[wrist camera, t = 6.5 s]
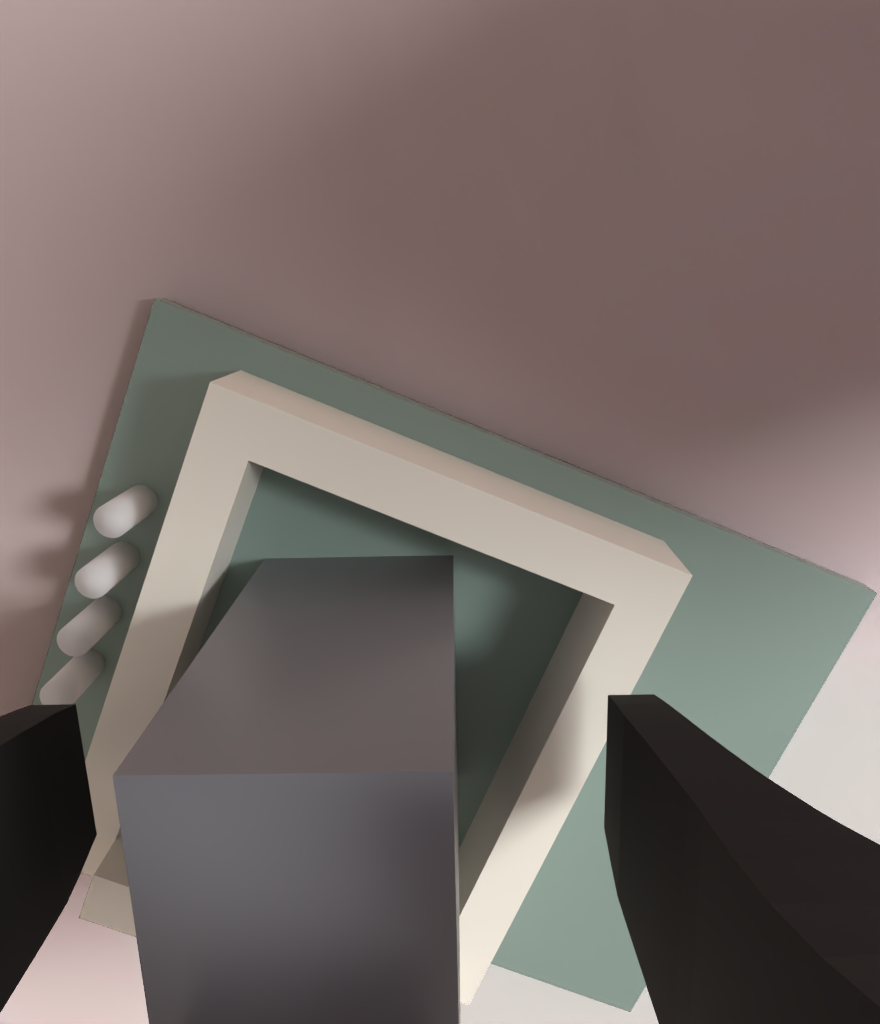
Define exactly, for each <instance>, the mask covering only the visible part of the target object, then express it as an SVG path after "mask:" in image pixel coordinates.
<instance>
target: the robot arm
mask: <svg viewBox="0 0 880 1024" xmlns="http://www.w3.org/2000/svg"><path fill="white" fill-rule="evenodd" d="M604 830H605V835H606V841H607V846H608V851H609V857H610V862H611V867H612V872H613V877H614V882H615V887H616V891H617V896H618V900H619V903H620V906H621V909H622V912H623V916H624V919H625V922H626V925H627V928H628V931H629V934H630V937H631V940H632V943H633V946H634V949H635V953H636V956H637V959H638V962H639V965H640V968H641V971H642V974H643V977H644V980H645V983H646V986H647V989H648V992H649V995H650V998H651V1001H652V1004H653V1007H654V1010H655V1013H656V1016H657V1019H658V1022H659V1024H880V845H879V844H877V843H875V842H873V841H872V840H870V839H868V838H866V837H864V836H862V835H860V834H859V833H857V832H855V831H853V830H851V829H849V828H847V827H846V826H844V825H842V824H840V823H838V822H837V821H835V820H833V819H832V818H830V817H828V816H826V815H825V814H823V813H821V812H820V811H818V810H816V809H815V808H813V807H812V806H810V805H809V804H807V803H805V802H804V801H802V800H801V799H799V798H798V797H796V796H794V795H793V794H791V793H790V792H788V791H787V790H785V789H784V788H782V787H780V786H779V785H777V784H776V783H774V782H773V781H771V780H770V779H768V778H767V777H766V776H764V775H763V774H761V773H760V772H758V771H757V770H755V769H754V768H753V767H751V766H750V765H748V764H747V763H746V762H744V761H743V760H741V759H740V758H739V757H737V756H736V755H735V754H733V753H732V752H730V751H729V750H728V749H726V748H725V747H724V746H722V745H721V744H720V743H718V742H717V741H716V740H714V739H713V738H712V737H710V736H709V735H708V734H706V733H705V732H704V731H703V730H701V729H700V728H699V727H697V726H696V725H695V724H693V723H692V722H691V721H690V720H688V719H687V718H686V717H684V716H683V715H682V714H681V713H679V712H678V711H677V710H675V709H674V708H673V707H671V706H670V705H669V704H667V703H666V702H665V701H663V700H662V699H660V698H659V697H657V696H656V695H654V694H641V695H608V709H607V744H606V778H605V813H604ZM96 835H97V832H96V826H95V820H94V813H93V807H92V801H91V795H90V789H89V782H88V776H87V770H86V764H85V758H84V751H83V745H82V739H81V733H80V727H79V720H78V714H77V708H76V704H59V705H30V706H27V707H24V708H22V709H19V710H16V711H13V712H11V713H8V714H6V715H3V716H1V717H0V1012H1V1011H2V1009H3V1007H4V1006H5V1004H6V1003H7V1001H8V999H9V998H10V996H11V995H12V993H13V991H14V990H15V988H16V986H17V985H18V983H19V982H20V980H21V978H22V977H23V975H24V974H25V972H26V970H27V969H28V967H29V965H30V964H31V962H32V961H33V959H34V957H35V956H36V954H37V952H38V951H39V949H40V947H41V946H42V944H43V942H44V941H45V939H46V937H47V936H48V934H49V932H50V931H51V929H52V927H53V926H54V924H55V922H56V921H57V919H58V917H59V916H60V914H61V912H62V911H63V909H64V907H65V905H66V904H67V902H68V899H69V897H70V895H71V893H72V891H73V889H74V886H75V884H76V882H77V880H78V878H79V876H80V874H81V871H82V869H83V866H84V864H85V862H86V859H87V857H88V855H89V852H90V850H91V847H92V845H93V843H94V840H95V838H96Z"/></svg>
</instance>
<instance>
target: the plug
mask: <svg viewBox="0 0 880 1024" xmlns="http://www.w3.org/2000/svg"><path fill="white" fill-rule="evenodd" d="M113 782H114V789H115V796H116V803H117V809H118V816H119V823H120V830H121V836H122V843H123V850H124V856H125V863H126V870H127V877H128V883H129V890H130V897H131V904H132V910H133V917H134V924H135V931H136V937H137V944H138V951H139V958H140V964H141V971H142V978H143V985H144V991H145V998H146V1005H147V1012H148V1018H149V1024H460V928H459V807H458V742H457V696H456V649H455V603H454V556H453V555H431V556H376V557H321V558H267V559H264V560H263V562H262V563H261V565H260V566H259V567H258V569H257V570H256V572H255V573H254V575H253V576H252V577H251V579H250V580H249V582H248V583H247V585H246V586H245V587H244V589H243V590H242V592H241V593H240V595H239V596H238V597H237V599H236V600H235V602H234V603H233V605H232V606H231V607H230V609H229V610H228V612H227V613H226V615H225V616H224V617H223V619H222V620H221V622H220V623H219V625H218V626H217V627H216V629H215V630H214V632H213V633H212V634H211V636H210V637H209V639H208V640H207V642H206V643H205V644H204V646H203V647H202V649H201V650H200V652H199V653H198V654H197V656H196V657H195V659H194V660H193V662H192V663H191V664H190V666H189V667H188V669H187V670H186V672H185V673H184V674H183V676H182V677H181V679H180V680H179V682H178V683H177V684H176V686H175V687H174V689H173V690H172V692H171V693H170V694H169V696H168V697H167V699H166V700H165V702H164V703H163V704H162V706H161V707H160V709H159V710H158V712H157V713H156V714H155V716H154V717H153V719H152V720H151V722H150V723H149V724H148V726H147V727H146V729H145V730H144V732H143V733H142V734H141V736H140V737H139V739H138V740H137V741H136V743H135V744H134V746H133V747H132V749H131V750H130V751H129V753H128V754H127V756H126V757H125V759H124V760H123V761H122V763H121V764H120V766H119V767H118V769H117V770H116V771H115V773H114V774H113Z"/></svg>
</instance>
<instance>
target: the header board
mask: <svg viewBox="0 0 880 1024" xmlns="http://www.w3.org/2000/svg"><path fill="white" fill-rule="evenodd" d="M431 555H453V556H454V603H455V649H456V696H457V742H458V807H459V928H460V1003H463V1004H466V1005H469V1004H470V1002H471V1000H472V998H473V996H474V994H475V992H476V990H477V989H478V987H479V985H480V983H481V981H482V979H483V977H484V975H485V973H486V971H487V969H488V967H489V966H490V964H494V965H497V966H499V967H502V968H505V969H508V970H511V971H514V972H517V973H520V974H522V975H525V976H528V977H531V978H534V979H537V980H540V981H543V982H545V983H548V984H551V985H554V986H557V987H560V988H563V989H565V990H568V991H571V992H574V993H577V994H580V995H583V996H586V997H588V998H591V999H594V1000H597V1001H600V1002H603V1003H606V1004H609V1005H611V1006H614V1007H617V1008H620V1009H623V1010H626V1011H629V1012H631V1010H632V1008H633V1007H634V1005H635V1003H636V1001H637V1000H638V998H639V996H640V995H641V993H642V991H643V990H644V988H645V986H646V983H645V980H644V977H643V974H642V971H641V968H640V965H639V962H638V959H637V956H636V953H635V949H634V946H633V943H632V940H631V937H630V934H629V931H628V928H627V925H626V922H625V919H624V916H623V912H622V909H621V906H620V903H619V900H618V896H617V891H616V887H615V882H614V877H613V872H612V867H611V862H610V857H609V851H608V846H607V841H606V835H605V830H604V813H605V778H606V744H607V709H608V695H641V694H654V695H656V696H657V697H659V698H660V699H662V700H663V701H665V702H666V703H667V704H669V705H670V706H671V707H673V708H674V709H675V710H677V711H678V712H679V713H681V714H682V715H683V716H684V717H686V718H687V719H688V720H690V721H691V722H692V723H693V724H695V725H696V726H697V727H699V728H700V729H701V730H703V731H704V732H705V733H706V734H708V735H709V736H710V737H712V738H713V739H714V740H716V741H717V742H718V743H720V744H721V745H722V746H724V747H725V748H726V749H728V750H729V751H730V752H732V753H733V754H735V755H736V756H737V757H739V758H740V759H741V760H743V761H744V762H746V763H747V764H748V765H750V766H751V767H753V768H754V769H755V770H757V771H758V772H760V773H761V774H763V775H764V776H766V777H767V778H769V776H770V774H771V773H772V771H773V769H774V767H775V766H776V764H777V762H778V761H779V759H780V757H781V756H782V754H783V752H784V750H785V749H786V747H787V745H788V744H789V742H790V740H791V739H792V737H793V735H794V733H795V732H796V730H797V728H798V727H799V725H800V723H801V722H802V720H803V718H804V717H805V715H806V713H807V711H808V710H809V708H810V706H811V705H812V703H813V701H814V700H815V698H816V696H817V694H818V693H819V691H820V689H821V688H822V686H823V684H824V683H825V681H826V679H827V678H828V676H829V674H830V672H831V671H832V669H833V667H834V666H835V664H836V662H837V661H838V659H839V657H840V655H841V654H842V652H843V650H844V649H845V647H846V645H847V644H848V642H849V640H850V639H851V637H852V635H853V633H854V632H855V630H856V628H857V627H858V625H859V623H860V622H861V620H862V618H863V616H864V615H865V613H866V611H867V610H868V608H869V606H870V605H871V603H872V601H873V600H874V598H875V596H876V594H877V593H876V592H874V591H873V590H871V589H870V588H869V587H867V586H866V585H864V584H862V583H859V582H857V581H855V580H852V579H850V578H847V577H845V576H842V575H840V574H837V573H835V572H832V571H830V570H828V569H825V568H823V567H820V566H818V565H815V564H813V563H810V562H808V561H806V560H803V559H801V558H798V557H796V556H793V555H791V554H788V553H786V552H783V551H781V550H779V549H776V548H774V547H771V546H769V545H766V544H764V543H761V542H759V541H757V540H754V539H752V538H749V537H747V536H744V535H742V534H739V533H737V532H734V531H732V530H730V529H727V528H725V527H722V526H720V525H717V524H715V523H712V522H710V521H708V520H705V519H703V518H700V517H698V516H695V515H693V514H690V513H688V512H685V511H683V510H681V509H678V508H676V507H673V506H671V505H668V504H666V503H663V502H661V501H659V500H656V499H654V498H651V497H649V496H646V495H644V494H641V493H639V492H636V491H634V490H632V489H629V488H627V487H624V486H622V485H619V484H617V483H614V482H612V481H610V480H607V479H605V478H602V477H600V476H597V475H595V474H592V473H590V472H588V471H585V470H583V469H580V468H578V467H575V466H573V465H570V464H568V463H565V462H563V461H561V460H558V459H556V458H553V457H551V456H548V455H546V454H543V453H541V452H539V451H536V450H534V449H531V448H529V447H526V446H524V445H521V444H519V443H516V442H514V441H512V440H509V439H507V438H504V437H502V436H499V435H497V434H494V433H492V432H490V431H487V430H485V429H482V428H480V427H477V426H475V425H472V424H470V423H467V422H465V421H463V420H460V419H458V418H455V417H453V416H450V415H448V414H445V413H443V412H441V411H438V410H436V409H433V408H431V407H428V406H426V405H423V404H421V403H418V402H416V401H414V400H411V399H409V398H406V397H404V396H401V395H399V394H396V393H394V392H392V391H389V390H387V389H384V388H382V387H379V386H377V385H374V384H372V383H369V382H367V381H365V380H362V379H360V378H357V377H355V376H352V375H350V374H347V373H345V372H343V371H340V370H338V369H335V368H333V367H330V366H328V365H325V364H323V363H320V362H318V361H316V360H313V359H311V358H308V357H306V356H303V355H301V354H298V353H296V352H294V351H291V350H289V349H286V348H284V347H281V346H279V345H276V344H274V343H272V342H269V341H267V340H264V339H262V338H259V337H257V336H254V335H252V334H249V333H247V332H245V331H242V330H240V329H237V328H235V327H232V326H230V325H227V324H225V323H223V322H220V321H218V320H215V319H213V318H210V317H208V316H205V315H203V314H200V313H198V312H196V311H193V310H191V309H188V308H186V307H183V306H181V305H178V304H176V303H174V302H171V301H169V300H166V299H154V303H153V306H152V309H151V312H150V316H149V319H148V322H147V326H146V329H145V332H144V336H143V339H142V342H141V346H140V349H139V352H138V355H137V359H136V362H135V365H134V369H133V372H132V375H131V379H130V382H129V385H128V389H127V392H126V395H125V398H124V402H123V405H122V408H121V412H120V415H119V418H118V422H117V425H116V428H115V432H114V435H113V438H112V441H111V445H110V448H109V451H108V455H107V458H106V461H105V465H104V468H103V471H102V475H101V478H100V481H99V484H98V488H97V491H96V494H95V498H94V501H93V504H92V508H91V511H90V514H89V518H88V521H87V524H86V527H85V531H84V534H83V537H82V541H81V544H80V547H79V551H78V554H77V557H76V561H75V564H74V567H73V571H72V574H71V577H70V580H69V584H68V587H67V590H66V594H65V597H64V600H63V604H62V607H61V610H60V614H59V617H58V620H57V623H56V627H55V630H54V633H53V637H52V640H51V643H50V647H49V650H48V653H47V657H46V660H45V663H44V666H43V670H42V673H41V676H40V680H39V683H38V686H37V690H36V693H35V696H34V700H33V703H32V705H59V704H76V708H77V714H78V720H79V727H80V733H81V739H82V745H83V751H84V758H85V764H86V770H87V776H88V782H89V789H90V795H91V801H92V807H93V813H94V820H95V826H96V832H97V835H96V838H95V840H94V843H93V845H92V847H91V850H90V852H89V855H88V857H87V859H86V862H85V864H84V866H83V869H82V871H81V873H84V874H87V875H90V876H93V878H92V881H91V884H90V887H89V890H88V893H87V896H86V898H85V901H84V904H83V907H82V910H81V913H80V916H79V918H81V919H84V920H87V921H90V922H93V923H96V924H99V925H102V926H105V927H108V928H111V929H114V930H117V931H120V932H123V933H126V934H129V935H132V936H135V937H136V931H135V924H134V917H133V910H132V904H131V897H130V890H129V883H128V877H127V870H126V863H125V856H124V850H123V843H122V836H121V830H120V823H119V816H118V809H117V803H116V796H115V789H114V782H113V774H114V773H115V771H116V770H117V769H118V767H119V766H120V764H121V763H122V761H123V760H124V759H125V757H126V756H127V754H128V753H129V751H130V750H131V749H132V747H133V746H134V744H135V743H136V741H137V740H138V739H139V737H140V736H141V734H142V733H143V732H144V730H145V729H146V727H147V726H148V724H149V723H150V722H151V720H152V719H153V717H154V716H155V714H156V713H157V712H158V710H159V709H160V707H161V706H162V704H163V703H164V702H165V700H166V699H167V697H168V696H169V694H170V693H171V692H172V690H173V689H174V687H175V686H176V684H177V683H178V682H179V680H180V679H181V677H182V676H183V674H184V673H185V672H186V670H187V669H188V667H189V666H190V664H191V663H192V662H193V660H194V659H195V657H196V656H197V654H198V653H199V652H200V650H201V649H202V647H203V646H204V644H205V643H206V642H207V640H208V639H209V637H210V636H211V634H212V633H213V632H214V630H215V629H216V627H217V626H218V625H219V623H220V622H221V620H222V619H223V617H224V616H225V615H226V613H227V612H228V610H229V609H230V607H231V606H232V605H233V603H234V602H235V600H236V599H237V597H238V596H239V595H240V593H241V592H242V590H243V589H244V587H245V586H246V585H247V583H248V582H249V580H250V579H251V577H252V576H253V575H254V573H255V572H256V570H257V569H258V567H259V566H260V565H261V563H262V562H263V560H264V559H267V558H321V557H376V556H431Z"/></svg>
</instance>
